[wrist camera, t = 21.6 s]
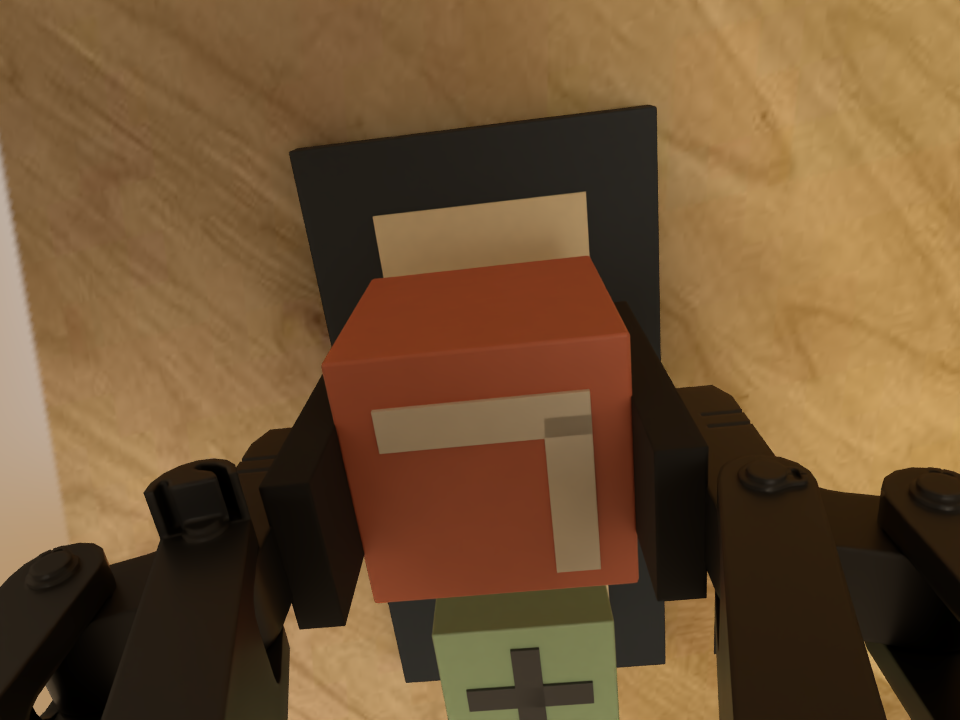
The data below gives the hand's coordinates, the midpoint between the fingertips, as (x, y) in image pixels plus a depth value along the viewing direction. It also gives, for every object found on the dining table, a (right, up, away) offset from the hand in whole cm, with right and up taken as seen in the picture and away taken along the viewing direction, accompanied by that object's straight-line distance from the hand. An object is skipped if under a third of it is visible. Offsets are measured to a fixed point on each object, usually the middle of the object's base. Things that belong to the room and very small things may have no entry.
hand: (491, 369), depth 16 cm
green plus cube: (+1, -7, +8) cm, 11 cm away
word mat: (+1, -2, +7) cm, 7 cm away
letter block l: (0, 0, 0) cm, 0 cm away
